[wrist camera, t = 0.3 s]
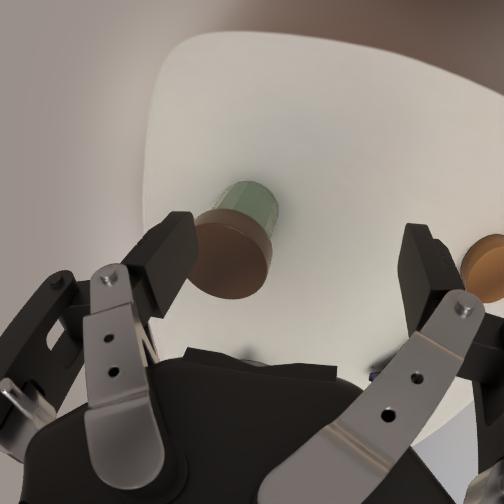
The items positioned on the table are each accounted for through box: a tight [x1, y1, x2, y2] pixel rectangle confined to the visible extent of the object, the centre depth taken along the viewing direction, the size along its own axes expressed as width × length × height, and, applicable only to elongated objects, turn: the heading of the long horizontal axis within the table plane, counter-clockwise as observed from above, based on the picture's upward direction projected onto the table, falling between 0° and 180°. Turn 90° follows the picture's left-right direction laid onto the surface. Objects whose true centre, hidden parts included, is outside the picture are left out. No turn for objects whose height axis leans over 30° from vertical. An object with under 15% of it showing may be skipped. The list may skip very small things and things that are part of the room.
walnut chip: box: [187, 208, 273, 299], centre depth 21 cm, size 6×6×2 cm
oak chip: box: [461, 235, 504, 303], centre depth 23 cm, size 7×7×2 cm
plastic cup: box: [212, 181, 278, 239], centre depth 24 cm, size 5×5×6 cm
